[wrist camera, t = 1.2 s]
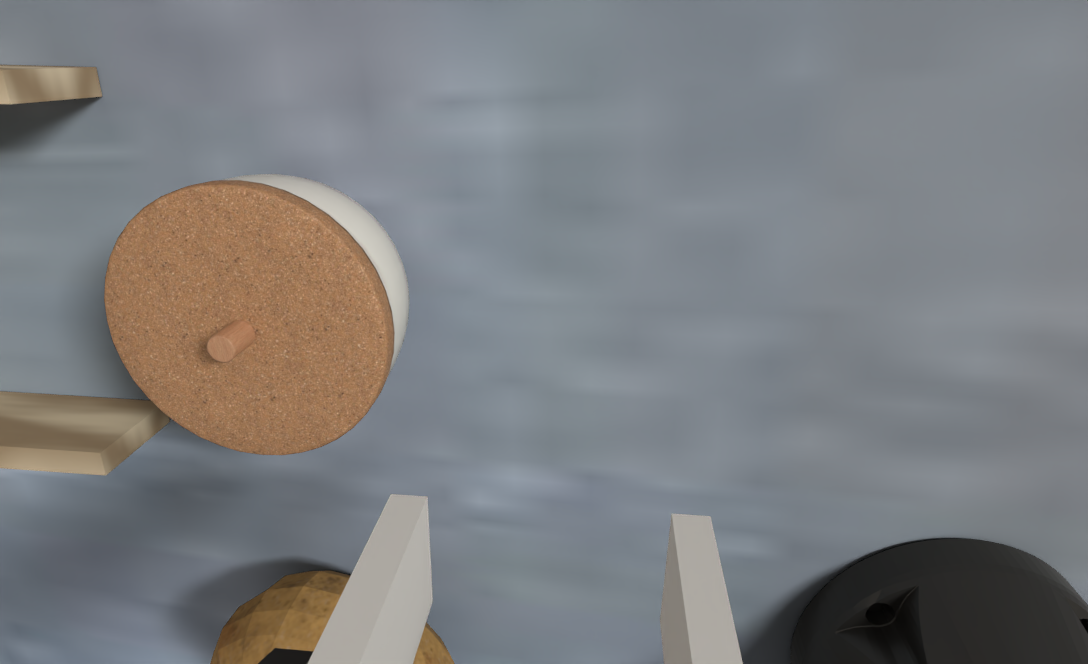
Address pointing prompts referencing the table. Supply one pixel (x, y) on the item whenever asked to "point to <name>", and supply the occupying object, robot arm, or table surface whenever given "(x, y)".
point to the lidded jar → (258, 310)
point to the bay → (61, 420)
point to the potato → (297, 621)
